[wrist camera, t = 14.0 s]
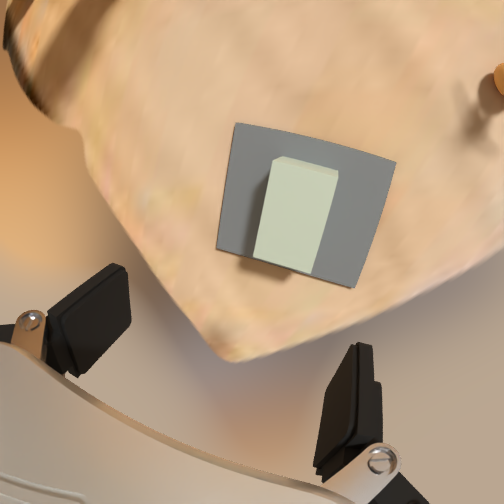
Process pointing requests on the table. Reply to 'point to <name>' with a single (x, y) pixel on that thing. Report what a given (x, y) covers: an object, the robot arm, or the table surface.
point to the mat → (342, 207)
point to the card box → (295, 213)
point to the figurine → (499, 78)
